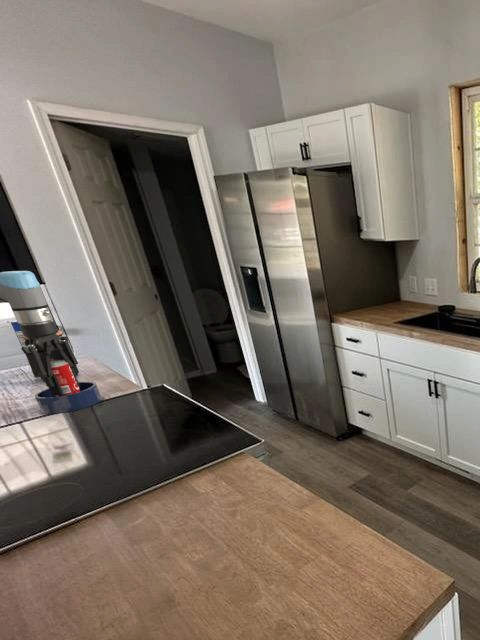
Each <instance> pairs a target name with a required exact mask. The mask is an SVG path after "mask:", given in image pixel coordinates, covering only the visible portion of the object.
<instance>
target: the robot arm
mask: <svg viewBox="0 0 480 640" xmlns="http://www.w3.org/2000/svg"><path fill="white" fill-rule="evenodd" d="M43 292H44V291H43V290H42V287H41V284H40V282H39V281H38V279H37V277H36V275H35V273H34V272H32V271H29V270H12V271H1V272H0V304H4V303H6V304H9V306H10V309H11V311H12V313H13V315H14V318H15V320H17V322H18V323H19V324H22V325H20V329H21V331H22V333H23V335H24V336H25V337H27V338H28V339H29V345H28V346H27V347H22V346H21V347H20V349H21V351H22V352H23V354H24V355H25V354H26V355H25V356H26V360H27V362H28V364H29V367H30V369H31V372H32V374H33V377H34V378H40V377H42V378H43V379H44V380H43V382H44V383H45V385H46V387H47V388H48V389H50V391H51V394H52V396H53V395H63V394H64V393H63V391H62V389H61V387H60V384H59V382H58V380H57V378H56V376H52V368H51V361H50V355H51V353H52V354H53V355H54V357H55V358H56V359H57V360H65V362H68V364H69V366H70V368H71V371H72V373H73V375H74V378H75V380H76V383H77V385H78V387H80V385H79V383H78V382H79V381H78V378H77V376H76V374H75V371H74V368H76V367H77V368H78V366H77V365H78V364H79V361H78V360H77V358H76V355H75V353H74V351H73V349H72V347H71V345H70V342H69V337H68V336H66V335H65V336H63V335H62V336H58V335H57V334H56V333H58V330H59V329H58V326H57V323H56V322H55V321H53V320H54V318H53V315H52V313H51V311H50V308H49V305H48V303H47V300H46V298H45V296H44V293H43ZM44 352H45V353H44Z"/></svg>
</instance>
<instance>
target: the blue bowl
mask: <svg viewBox="0 0 480 640" xmlns="http://www.w3.org/2000/svg"><path fill="white" fill-rule="evenodd" d="M78 383H79V385H80V387H79V390H80V392H77V393H73V394H68V395H63V396H57V397H56V396H55V395H53V396H52V394H51V391H50V389H49V388H45V389H43V390H41V391H39V392H37V393H35V394H34V399H35V401H36V403H37V405H38V407H39V409H40V411H41V413H42V414H45V415H52V414H53V415H55V414H56V415H57V414H63V413H69V412H74V411H78V410H82V409H86V408H88V407H92V406H95V405H97V404H98V403H100V402H101V401H102V400H103V397H102V394H101V391H100V389H99V387H98V384H97V383H96V382H94V381H78Z"/></svg>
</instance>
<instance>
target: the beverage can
mask: <svg viewBox="0 0 480 640" xmlns="http://www.w3.org/2000/svg"><path fill="white" fill-rule="evenodd" d="M51 368H52V376H56V378H57V380H58V382H59V384H60V387H61V389H62V391H63V393H64V394H63V395H68V394H73V393H77V392H80V390H79V387H78V385H77V383H76V380H75V378H74V375H73V373H72V371H71V368H70V366H69V364H68V362H65V360H54V361H51ZM63 395H55V396H56V397H57V396H63Z"/></svg>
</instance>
